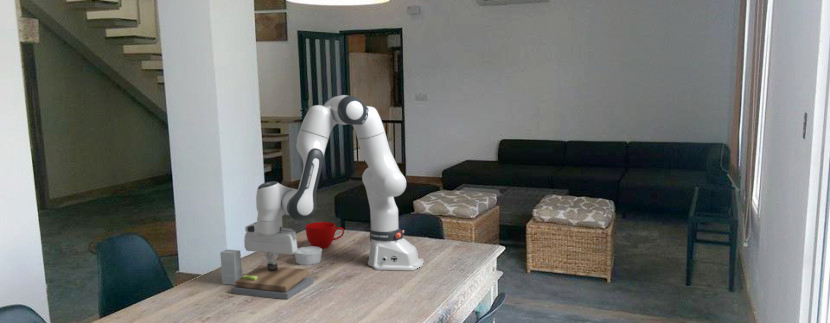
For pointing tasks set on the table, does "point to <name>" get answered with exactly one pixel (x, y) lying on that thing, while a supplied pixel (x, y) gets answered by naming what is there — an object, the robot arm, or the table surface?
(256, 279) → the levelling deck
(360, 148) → the robot arm
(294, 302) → the table surface
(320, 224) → the ceramic cup
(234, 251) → the skincare box
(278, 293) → the grey rectangular slab
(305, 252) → the ramekin
